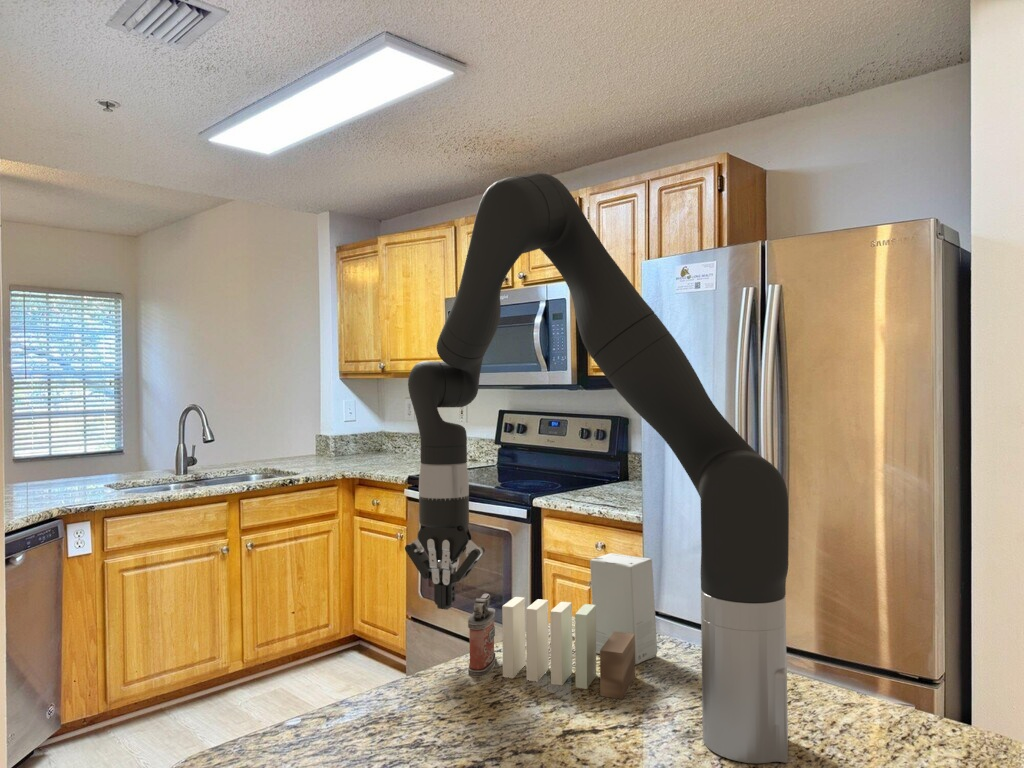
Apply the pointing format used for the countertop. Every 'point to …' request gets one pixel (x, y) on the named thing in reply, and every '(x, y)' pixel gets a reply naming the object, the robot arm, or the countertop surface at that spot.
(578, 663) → the domino
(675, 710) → the countertop surface
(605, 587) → the skincare box
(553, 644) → the domino
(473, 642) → the lighter
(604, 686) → the block
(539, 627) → the domino
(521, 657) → the domino
